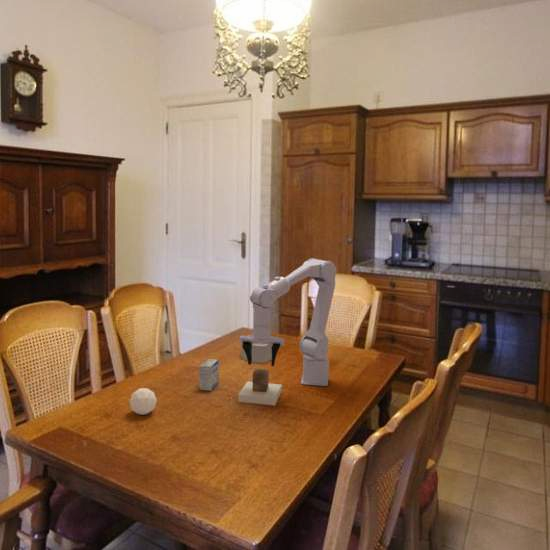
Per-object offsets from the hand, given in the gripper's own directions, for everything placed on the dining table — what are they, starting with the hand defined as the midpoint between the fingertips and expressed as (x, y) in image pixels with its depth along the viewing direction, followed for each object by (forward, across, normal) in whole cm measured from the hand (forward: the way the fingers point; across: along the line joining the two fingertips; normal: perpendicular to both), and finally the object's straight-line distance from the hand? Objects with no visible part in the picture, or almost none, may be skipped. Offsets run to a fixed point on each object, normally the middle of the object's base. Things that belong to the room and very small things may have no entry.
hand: (261, 364), depth 163 cm
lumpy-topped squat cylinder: (+11, -9, +37) cm, 40 cm away
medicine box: (+11, -19, +3) cm, 22 cm away
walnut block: (+8, 0, -1) cm, 8 cm away
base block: (+11, 0, -2) cm, 11 cm away
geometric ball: (+10, -32, -21) cm, 40 cm away
